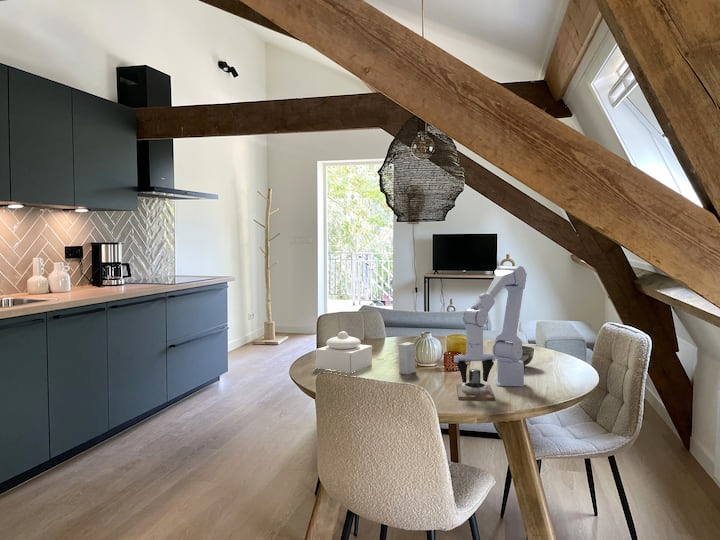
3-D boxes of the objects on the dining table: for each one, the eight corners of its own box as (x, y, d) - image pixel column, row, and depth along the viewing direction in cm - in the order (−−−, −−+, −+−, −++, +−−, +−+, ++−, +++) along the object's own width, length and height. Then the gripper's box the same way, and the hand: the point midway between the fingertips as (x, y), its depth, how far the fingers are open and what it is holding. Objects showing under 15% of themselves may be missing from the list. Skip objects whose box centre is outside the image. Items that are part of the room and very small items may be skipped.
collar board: (489, 387, 195) (489, 379, 195) (494, 400, 179) (494, 391, 179) (456, 386, 197) (456, 378, 196) (458, 399, 181) (458, 390, 181)
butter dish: (338, 361, 242) (337, 326, 241) (373, 365, 233) (372, 329, 232) (315, 369, 227) (315, 332, 226) (351, 374, 218) (351, 335, 217)
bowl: (536, 371, 219) (536, 351, 218) (502, 370, 221) (502, 350, 221) (532, 363, 232) (532, 345, 231) (500, 362, 235) (500, 344, 234)
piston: (476, 388, 190) (476, 368, 190) (482, 391, 187) (482, 371, 186) (466, 389, 189) (466, 369, 189) (472, 392, 186) (472, 372, 185)
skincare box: (407, 370, 223) (406, 341, 222) (415, 371, 220) (415, 343, 219) (398, 373, 218) (398, 344, 217) (407, 374, 215) (407, 345, 215)
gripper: (489, 340, 192) (489, 377, 193) (451, 341, 190) (451, 379, 190) (497, 343, 185) (497, 382, 186) (457, 345, 183) (457, 385, 183)
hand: (474, 381), depth 188 cm, fingers open, 7 cm apart
